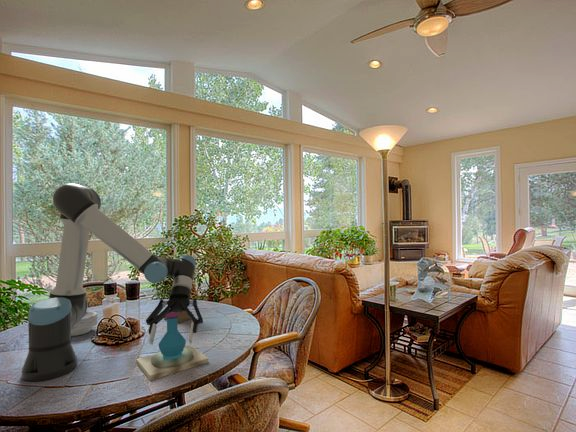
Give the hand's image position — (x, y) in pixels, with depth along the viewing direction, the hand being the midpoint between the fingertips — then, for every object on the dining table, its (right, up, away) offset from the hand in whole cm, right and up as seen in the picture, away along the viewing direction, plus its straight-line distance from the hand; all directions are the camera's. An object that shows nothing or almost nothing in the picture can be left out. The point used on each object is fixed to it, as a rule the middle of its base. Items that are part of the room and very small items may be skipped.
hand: (170, 342), depth 113 cm
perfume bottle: (0, -6, +2) cm, 6 cm away
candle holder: (-15, -9, +53) cm, 56 cm away
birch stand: (0, -8, +2) cm, 9 cm away
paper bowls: (-55, -9, +34) cm, 65 cm away
